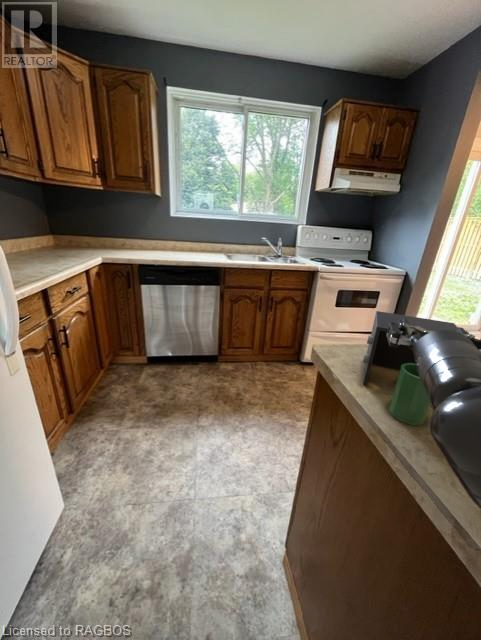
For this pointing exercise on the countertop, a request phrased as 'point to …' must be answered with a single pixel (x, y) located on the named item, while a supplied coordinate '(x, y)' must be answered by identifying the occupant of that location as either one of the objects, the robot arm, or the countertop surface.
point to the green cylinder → (409, 397)
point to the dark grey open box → (396, 357)
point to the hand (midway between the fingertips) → (429, 327)
